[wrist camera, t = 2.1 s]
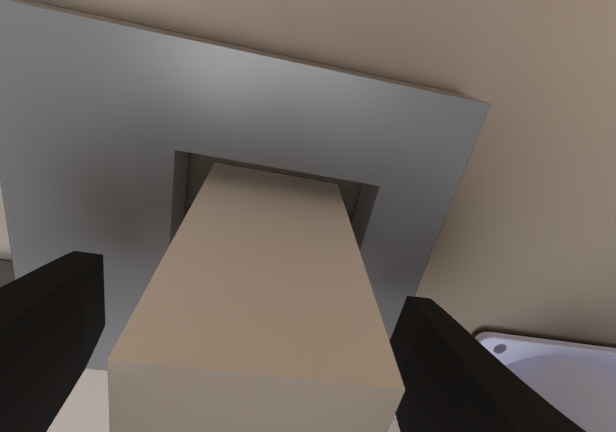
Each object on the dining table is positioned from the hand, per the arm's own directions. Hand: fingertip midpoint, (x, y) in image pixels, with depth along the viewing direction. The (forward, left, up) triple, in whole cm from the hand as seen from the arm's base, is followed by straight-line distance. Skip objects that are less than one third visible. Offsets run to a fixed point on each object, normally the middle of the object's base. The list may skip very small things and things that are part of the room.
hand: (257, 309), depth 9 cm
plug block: (0, 0, -4) cm, 4 cm away
